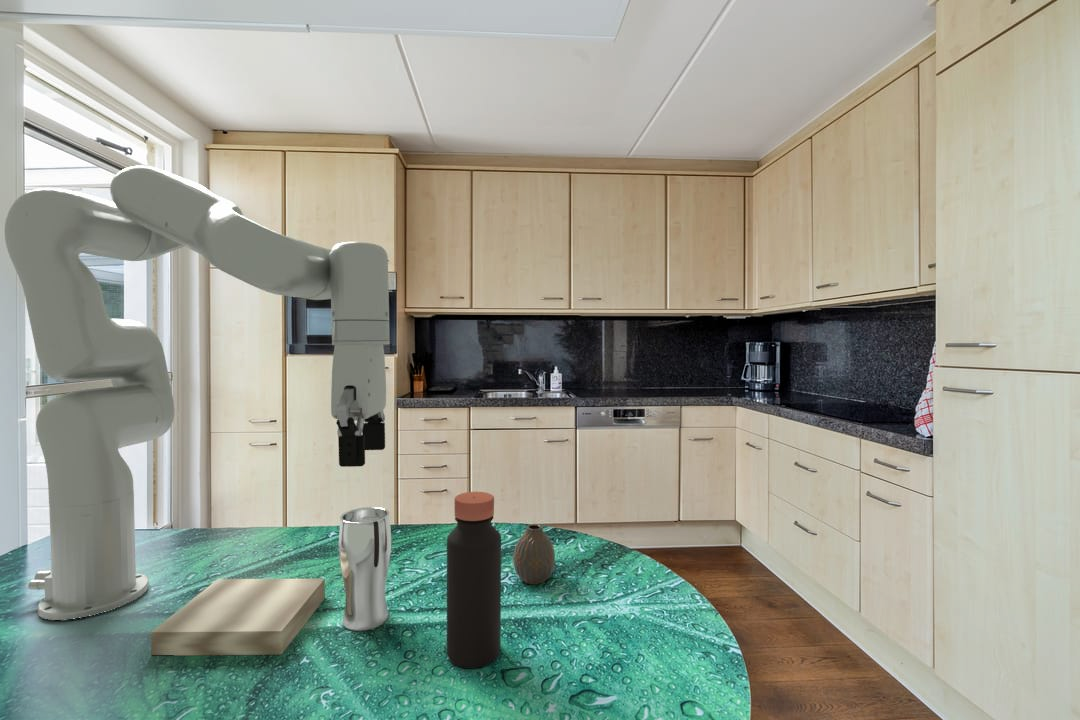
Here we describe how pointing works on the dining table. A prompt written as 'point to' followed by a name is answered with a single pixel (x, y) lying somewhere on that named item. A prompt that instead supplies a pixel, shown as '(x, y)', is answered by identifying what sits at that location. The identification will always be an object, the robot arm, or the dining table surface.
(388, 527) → the beer glass
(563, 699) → the dining table surface
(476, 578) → the bottle
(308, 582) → the plate
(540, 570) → the vase
